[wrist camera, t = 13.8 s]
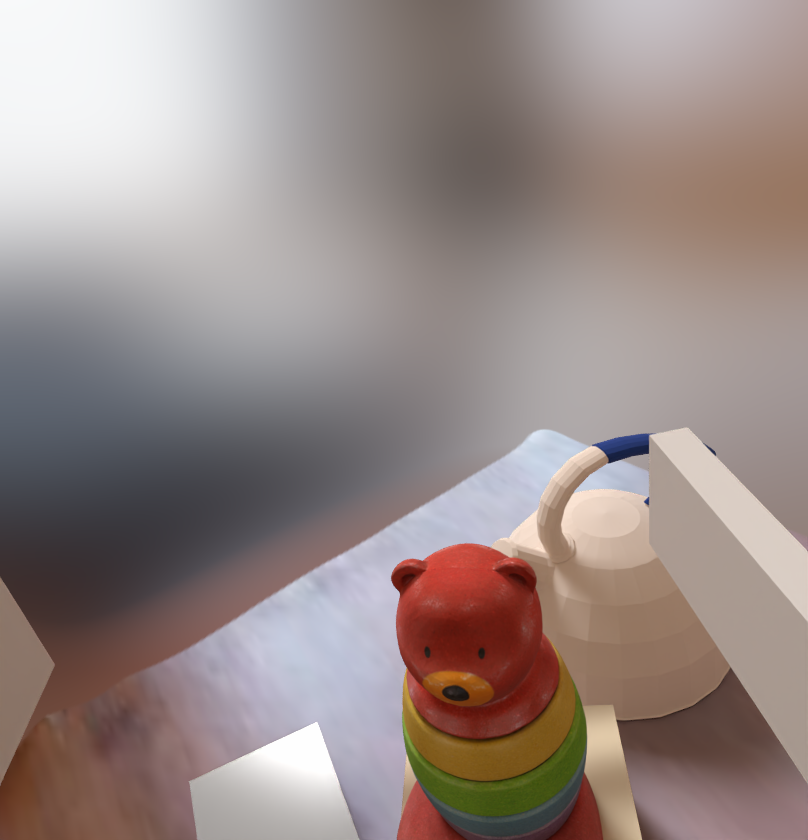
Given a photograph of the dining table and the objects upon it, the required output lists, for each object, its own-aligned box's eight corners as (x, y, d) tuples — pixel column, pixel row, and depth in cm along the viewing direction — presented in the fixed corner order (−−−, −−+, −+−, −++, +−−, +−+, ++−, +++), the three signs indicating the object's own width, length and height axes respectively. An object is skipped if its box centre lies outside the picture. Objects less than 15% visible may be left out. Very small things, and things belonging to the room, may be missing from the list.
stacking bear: (388, 877, 36) (298, 645, 27) (440, 712, 44) (383, 493, 35) (598, 934, 32) (572, 684, 23) (613, 742, 40) (597, 502, 31)
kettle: (449, 593, 64) (422, 432, 55) (629, 518, 69) (630, 360, 61) (571, 771, 47) (560, 579, 38) (797, 654, 52) (832, 462, 44)
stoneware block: (377, 893, 42) (359, 839, 39) (238, 969, 40) (208, 919, 37) (334, 774, 50) (317, 722, 47) (215, 832, 47) (189, 781, 45)
